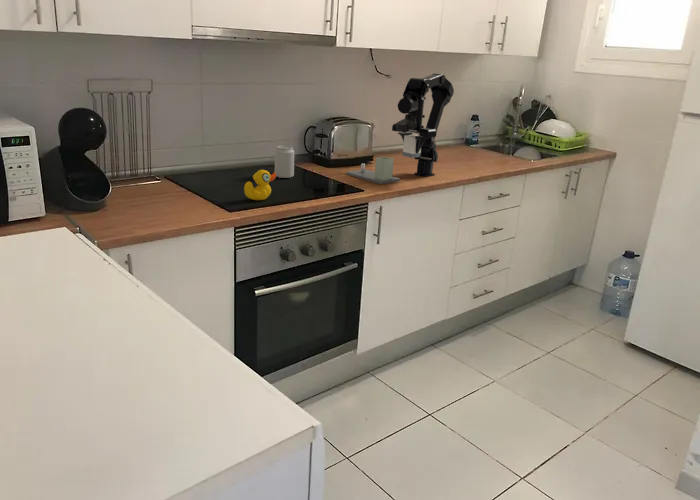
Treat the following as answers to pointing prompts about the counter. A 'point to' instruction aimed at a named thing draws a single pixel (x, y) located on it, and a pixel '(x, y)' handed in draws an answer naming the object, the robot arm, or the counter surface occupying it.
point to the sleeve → (410, 146)
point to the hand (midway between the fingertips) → (411, 152)
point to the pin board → (377, 171)
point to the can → (284, 162)
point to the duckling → (259, 185)
